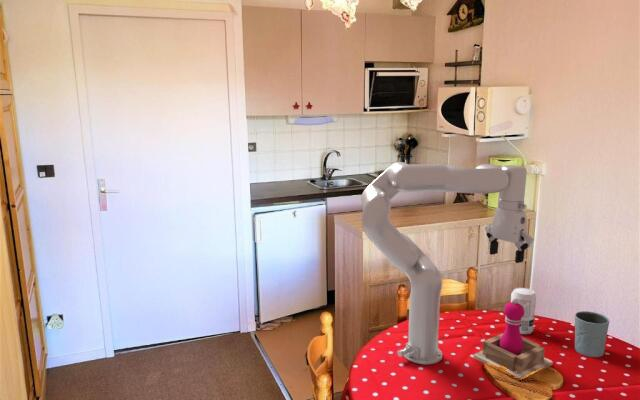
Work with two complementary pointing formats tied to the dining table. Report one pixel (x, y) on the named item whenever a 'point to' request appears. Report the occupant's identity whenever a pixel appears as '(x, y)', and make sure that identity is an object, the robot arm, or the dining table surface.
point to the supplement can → (526, 308)
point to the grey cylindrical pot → (590, 333)
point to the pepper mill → (513, 328)
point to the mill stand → (514, 357)
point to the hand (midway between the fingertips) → (505, 257)
